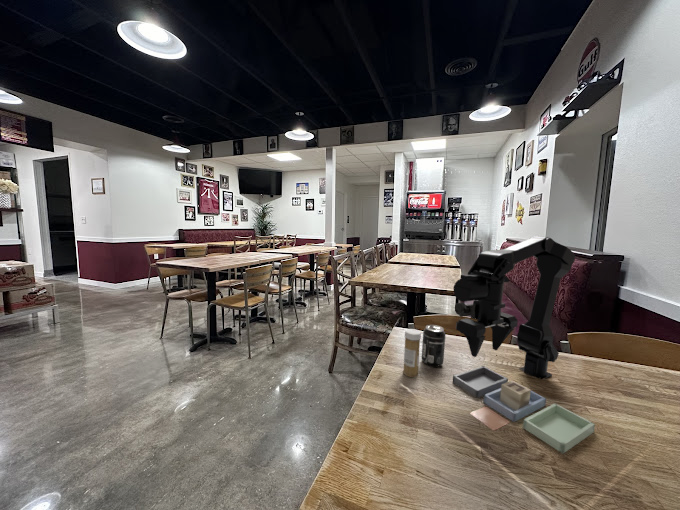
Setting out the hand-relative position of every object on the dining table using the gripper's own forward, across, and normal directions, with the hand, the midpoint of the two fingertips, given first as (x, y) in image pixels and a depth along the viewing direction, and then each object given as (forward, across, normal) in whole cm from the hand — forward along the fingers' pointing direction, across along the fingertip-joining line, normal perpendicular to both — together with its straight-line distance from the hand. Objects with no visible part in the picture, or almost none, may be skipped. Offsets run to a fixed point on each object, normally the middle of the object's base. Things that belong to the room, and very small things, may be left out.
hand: (484, 353), depth 75 cm
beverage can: (+10, +3, -16) cm, 19 cm away
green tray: (+10, 0, +18) cm, 21 cm away
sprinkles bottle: (+10, +14, -14) cm, 22 cm away
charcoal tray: (+10, 0, -1) cm, 10 cm away
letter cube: (+9, 0, +9) cm, 13 cm away
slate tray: (+10, 0, +9) cm, 13 cm away
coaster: (+10, +11, +9) cm, 17 cm away
